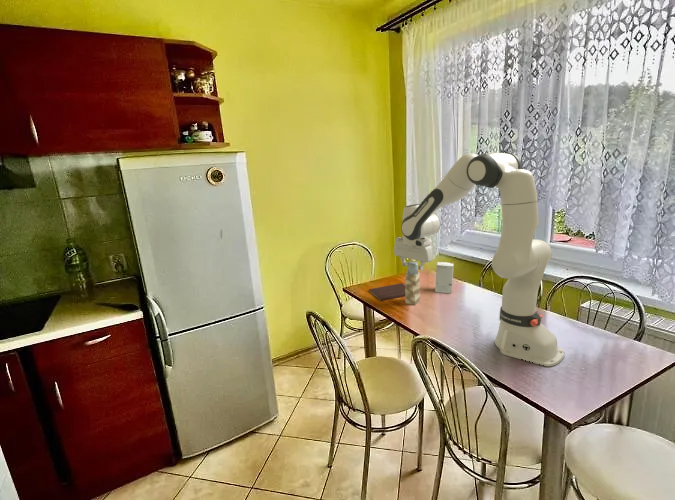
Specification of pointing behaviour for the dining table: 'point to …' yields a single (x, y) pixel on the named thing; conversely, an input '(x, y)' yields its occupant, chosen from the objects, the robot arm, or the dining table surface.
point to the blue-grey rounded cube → (412, 268)
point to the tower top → (413, 279)
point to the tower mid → (412, 289)
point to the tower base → (412, 299)
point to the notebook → (389, 292)
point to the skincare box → (444, 277)
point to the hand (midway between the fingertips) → (412, 267)
